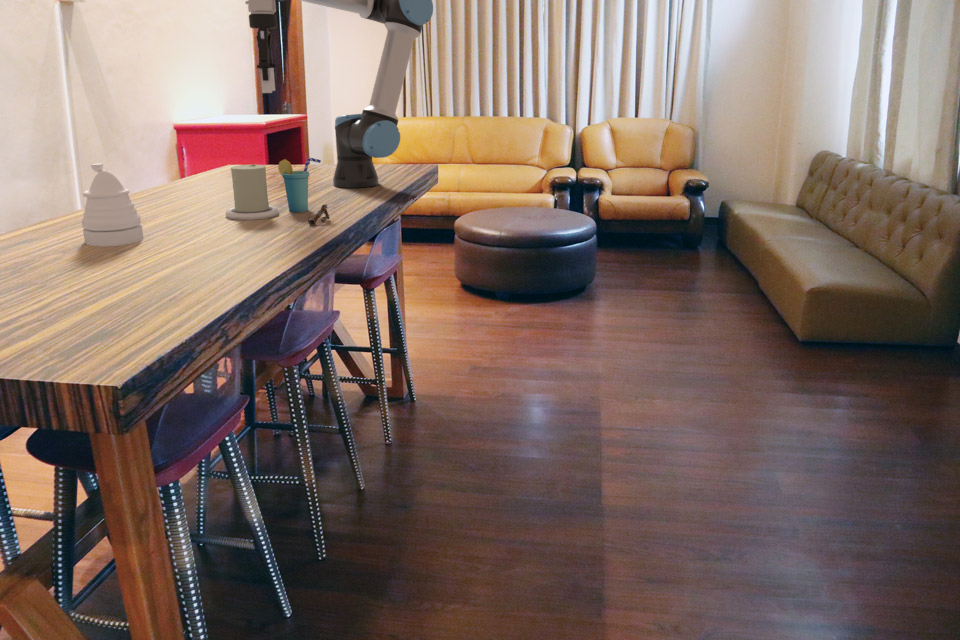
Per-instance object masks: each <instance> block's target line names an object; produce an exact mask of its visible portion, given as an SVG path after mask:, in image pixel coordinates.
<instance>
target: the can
mask: <svg viewBox="0 0 960 640" xmlns="http://www.w3.org/2000/svg"><path fill="white" fill-rule="evenodd" d="M230 171H231V179H232V181H231V182H232V188H233V199H234V207H235V211H237V212H260V211H265V210H268V209H269V206H270V205H269V198H268V185H267V184H268V183H267V170H266V165H262V164H253V163H252V164H251V163H250V164H242V165H235V166H231V167H230Z"/></svg>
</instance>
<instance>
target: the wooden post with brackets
mask: <svg viewBox="0 0 960 640" xmlns="http://www.w3.org/2000/svg"><path fill="white" fill-rule="evenodd" d="M327 209H328V204H327V203H326V204H322V205H321V207H320V209H319V210H318V211H317V212H316V213H315V215H314V216H313V217H311V218H308V219H307V221H308V225H309V226H317V221H318V219H319V218H320V223H325V222H326V221H328V220H330V218H331V217H330V214H329V213H328V210H327ZM323 214H324V216H323ZM321 217H322V218H321Z"/></svg>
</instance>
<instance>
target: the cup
mask: <svg viewBox="0 0 960 640" xmlns="http://www.w3.org/2000/svg"><path fill="white" fill-rule="evenodd" d="M310 162H314V163H321V162H322V160H321V159H318V158H314V157H308V158H307V159H306V161H305V165H304V168H303V170H293V166H292V164H291V162H290V161H288V160H287V159H286V158H285V159H282V160H280V161H279V162H278V170H279V171H278V172H279V174H280V176H282V179H283V183H284V187H285V193H286V200H287V205H288V211H290V212H291V213H304V212H308V210H309V177H310V171H308V168H309V164H310Z"/></svg>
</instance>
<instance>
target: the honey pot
mask: <svg viewBox="0 0 960 640" xmlns="http://www.w3.org/2000/svg"><path fill="white" fill-rule="evenodd" d="M90 167H91V169H92V170H93V171H94V172H95V173H96V175H95V176H94V178H93V180H92V182H91V183H90V184H91V185H90V188H89V189H88V190H85V191H83V193H82V196H83V197H84V198H86V203H85V205H84V207H83V208H84V212H83V218H82V219H81V224H82V228H83V229H82V231H83V238H84V243H85V245H87V246H91V247H101V248H102V247H116V246H117V247H118V246H126V245H132V244H135V243H139V242H141V241H142V240H143V241H144V232H143V224H142V218H141V214H139V213H138V209H137V208H136V207H135V202H133V201H132V199H131V197H130V196H129V194H130V190H129V189H128V188H125V187H124V185H123V183H122V182H121V180H120V179H119V178H118V177H117V176H116V175H115V174H114V173H113V172H112V171H110V170H108V169H103V168H104V163H90Z"/></svg>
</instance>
